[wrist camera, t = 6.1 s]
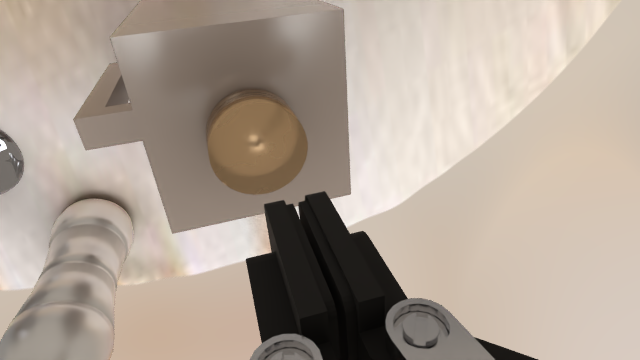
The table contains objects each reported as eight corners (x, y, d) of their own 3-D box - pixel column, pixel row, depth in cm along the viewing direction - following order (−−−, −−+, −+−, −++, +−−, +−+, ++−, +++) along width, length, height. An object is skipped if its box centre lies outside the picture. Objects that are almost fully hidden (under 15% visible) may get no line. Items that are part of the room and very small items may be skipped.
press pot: (267, -20, 33) (343, 8, 17) (281, 92, 37) (350, 194, 22) (101, -3, 30) (13, 49, 15) (138, 115, 35) (102, 249, 19)
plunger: (260, -3, 32) (340, 48, 15) (272, 88, 35) (347, 206, 19) (163, 8, 30) (139, 76, 14) (186, 102, 34) (189, 242, 18)
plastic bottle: (141, 195, 38) (108, 385, 22) (130, 253, 41) (93, 463, 24) (62, 183, 36) (-45, 390, 19) (55, 246, 38) (-44, 476, 22)
